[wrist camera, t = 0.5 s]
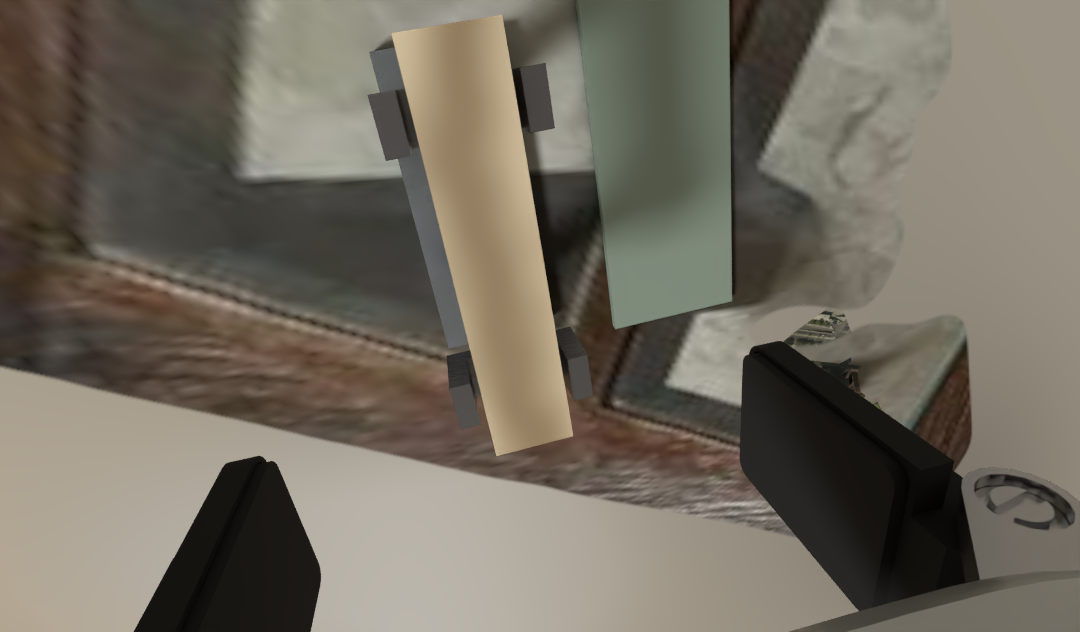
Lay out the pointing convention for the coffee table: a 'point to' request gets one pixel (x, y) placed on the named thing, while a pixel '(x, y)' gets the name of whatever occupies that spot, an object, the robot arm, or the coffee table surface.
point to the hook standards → (405, 147)
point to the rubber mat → (660, 151)
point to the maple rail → (488, 222)
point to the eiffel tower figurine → (824, 331)
